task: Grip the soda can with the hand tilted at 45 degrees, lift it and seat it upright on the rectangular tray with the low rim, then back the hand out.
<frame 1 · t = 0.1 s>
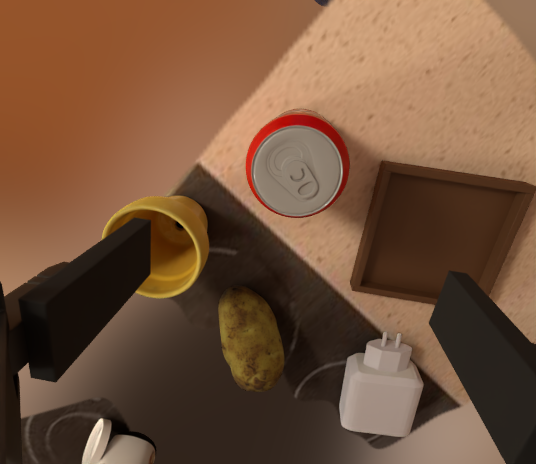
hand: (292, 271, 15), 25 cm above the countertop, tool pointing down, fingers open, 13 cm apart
soda can: (299, 145, 38), on the countertop
spread jar: (127, 438, 59), on the countertop
rectangular tray: (430, 236, 40), on the countertop
flower pot: (183, 221, 43), on the countertop
charger: (378, 364, 48), on the countertop
potato: (255, 319, 47), on the countertop
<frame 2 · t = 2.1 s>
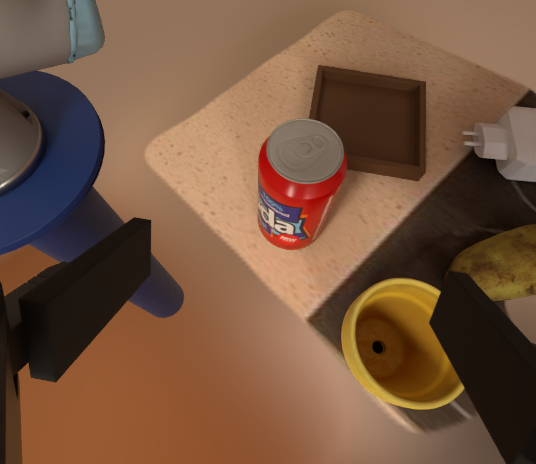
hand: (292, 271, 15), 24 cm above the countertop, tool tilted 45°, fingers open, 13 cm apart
soda can: (289, 223, 42), on the countertop
rectangular tray: (363, 125, 48), on the countertop
flower pot: (373, 347, 37), on the countertop
charger: (506, 155, 47), on the countertop
potato: (486, 273, 41), on the countertop
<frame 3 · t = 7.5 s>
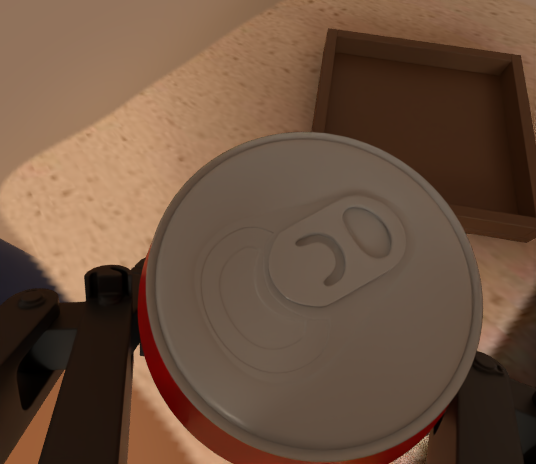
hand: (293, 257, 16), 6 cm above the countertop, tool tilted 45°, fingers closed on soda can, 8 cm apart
soda can: (276, 340, 20), on the countertop, touching gripper
rectangular tray: (412, 134, 27), on the countertop
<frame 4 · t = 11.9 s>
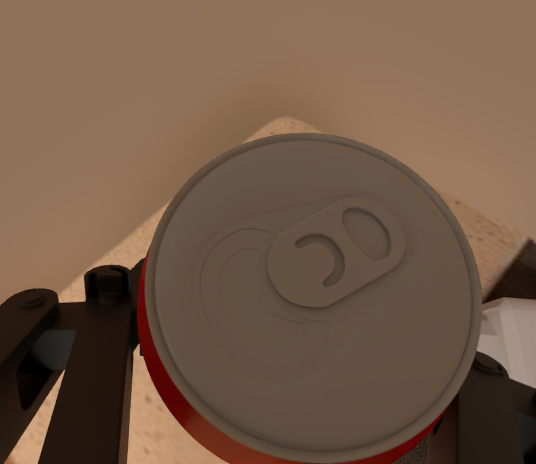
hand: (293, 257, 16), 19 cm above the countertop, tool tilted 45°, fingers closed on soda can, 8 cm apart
soda can: (276, 341, 20), point 13 cm above the countertop, touching gripper
charger: (498, 354, 33), on the countertop
when the fingers open (6 cm above the countertop, at t = 16.3 s): soda can stays where it is, resting on rectangular tray.
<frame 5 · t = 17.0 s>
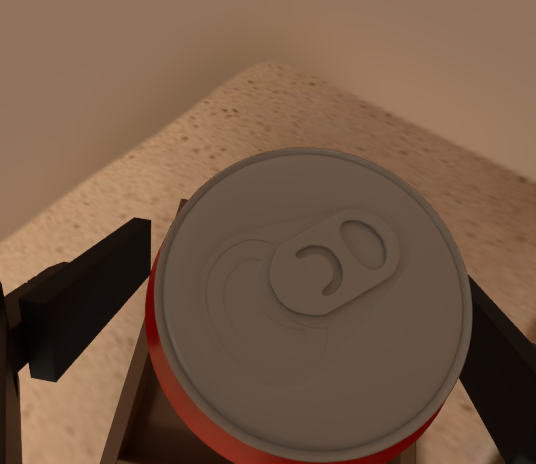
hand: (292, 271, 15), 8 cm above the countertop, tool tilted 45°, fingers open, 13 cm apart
soda can: (277, 343, 21), resting on rectangular tray
rectangular tray: (276, 342, 21), on the countertop
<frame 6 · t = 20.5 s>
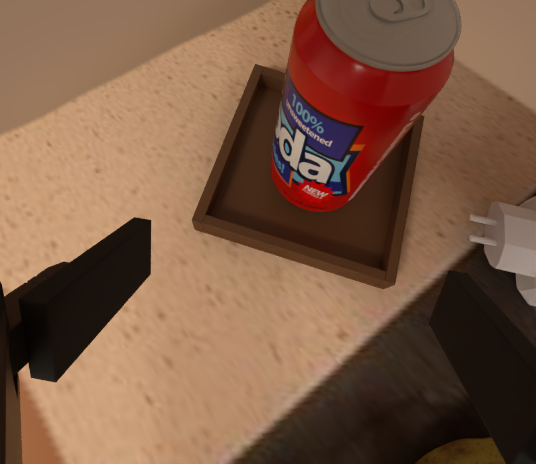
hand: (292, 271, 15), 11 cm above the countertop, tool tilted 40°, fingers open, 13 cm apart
soda can: (314, 174, 29), resting on rectangular tray
rectangular tray: (312, 175, 29), on the countertop
charger: (533, 256, 29), on the countertop
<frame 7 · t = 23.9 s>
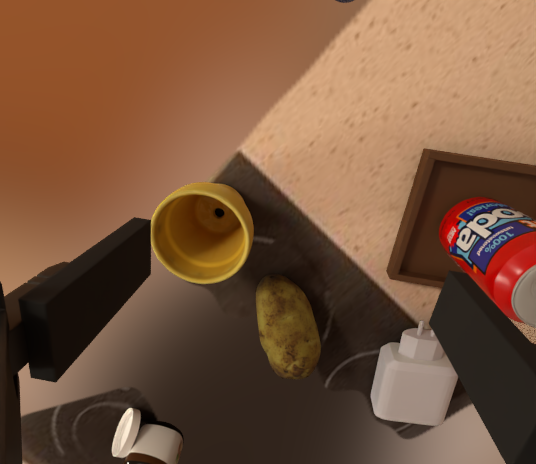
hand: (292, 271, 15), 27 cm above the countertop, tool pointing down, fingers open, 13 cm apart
soda can: (470, 226, 40), resting on rectangular tray
spread jar: (154, 428, 59), on the countertop
rectangular tray: (469, 224, 40), on the countertop
flower pot: (221, 209, 43), on the countertop
charger: (410, 354, 48), on the countertop
potato: (289, 308, 47), on the countertop
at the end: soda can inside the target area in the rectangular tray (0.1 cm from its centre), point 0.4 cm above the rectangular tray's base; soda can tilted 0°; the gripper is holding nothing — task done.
